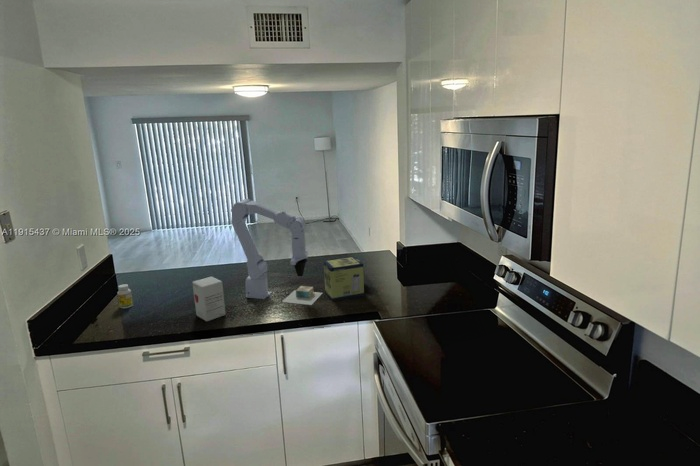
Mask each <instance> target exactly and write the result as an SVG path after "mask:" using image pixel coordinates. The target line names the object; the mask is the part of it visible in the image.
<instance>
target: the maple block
mask: <svg viewBox="0 0 700 466" xmlns="http://www.w3.org/2000/svg"><path fill="white" fill-rule="evenodd" d="M295 290H296V297H301V298H309V297H310V296H311V295H312V294H313V293H314V292H315V291H314V286H308V285H307V286H306V285H300V286H299V287H298V288H297V289H295Z"/></svg>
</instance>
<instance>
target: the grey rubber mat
mask: <svg viewBox="0 0 700 466" xmlns="http://www.w3.org/2000/svg"><path fill="white" fill-rule="evenodd" d="M296 290H297V289H294V290H293V291H292V292H291V293H290V294H288V296H287V297H285V298H284V299H283V300H281V303H288V304H289V303H290V304H297V305H309V306H312V305H313V304H314V303H315V302H316V301H317V299H319V298H320V297H321V296H322V294H323V292H319V291H317V292H316V291H313V292H314V293H313V294H312V295H311V296H310V297H309V298H301V297H296Z"/></svg>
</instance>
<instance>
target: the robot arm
mask: <svg viewBox="0 0 700 466" xmlns="http://www.w3.org/2000/svg"><path fill="white" fill-rule="evenodd" d="M230 211H231V225H232V228H233V229H234V231H235V234H236V236H237V238H238V240H239V244H240V245H241V247H242V250H243V252H244V255H245V257H246V259H247V261H246V267H247V275H248V276H247V277H246V279H245V281H244V282H245V283H244V284H245V294H246V295H245V298H250V299H259V300H260V299H261V300H266V298H268V297H269V296H270V295H272V293H273V292H272V291H269V287H268V286H269V283H268V275H267V272H268V270H269V264H268V263H267V262H268V261H266V260H265V259H264V258H263V256H262V255H260V254H259V252H258V249H257V247H256V245H255V242H254V240H253V238H252V235H251V233H250V231H249V228H248V226H247V224H246V221H247V219H248V217H249V215H254V214H257V215H260V216H262V217H265V218H268V219H271V220H273V221H274V224H275V225H277V226H280V227H283V228H285V229H286V230H287V229H288V230H289V232H291V233H290V234H291V249H292V250H291V251H292V256H291V260H290V261H289V262H290V266H293V268H294V269H295V272H296V275H297V277H303V276H304V271H305V268H306V267H305V266H306V264H307V262H308V259H309V255H308V251H307V250H306V235H305V228H306V226H307V223H306V221H305V219H304V218H302V217H300V216H299V217H297V216H295V215H290V214H288V213H287V212H286V211H285V210H283V211H282V210H281V211H277V212H276V211H274V210H272V209H271V208H268V207H266V206H264V205H262V204H260V203H258V202H257V201H255V200H252V199H250V198H244V199H242V200H241V201H238V202H235V203H234V204H233V206H232V208H231V209H230Z"/></svg>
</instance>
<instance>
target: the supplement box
mask: <svg viewBox="0 0 700 466" xmlns="http://www.w3.org/2000/svg"><path fill="white" fill-rule="evenodd" d="M223 285H224V284H223V281H222V280H220V279H218V278H216V277H214V276H208V277H205V278H202V279H201V278H200V279H196V280H193V281H192V291H193V298H194V306H195V312H196V314H195V315H196V316H197V317H198V318H200V319H201V320H204V321H205V322H210V321H212V320H214V319H217V318H221V317H223V316H226V306H225V296H224V287H223Z"/></svg>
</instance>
